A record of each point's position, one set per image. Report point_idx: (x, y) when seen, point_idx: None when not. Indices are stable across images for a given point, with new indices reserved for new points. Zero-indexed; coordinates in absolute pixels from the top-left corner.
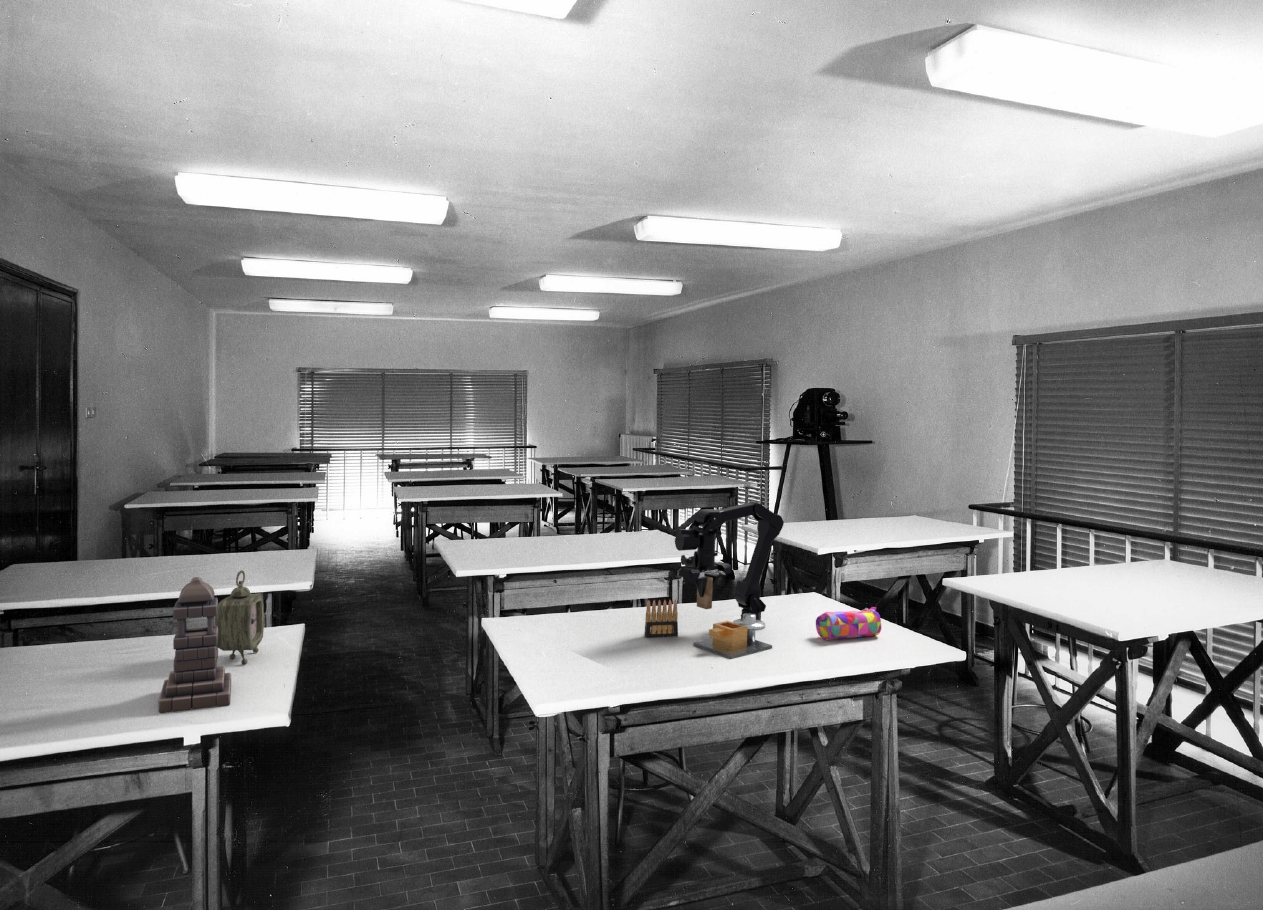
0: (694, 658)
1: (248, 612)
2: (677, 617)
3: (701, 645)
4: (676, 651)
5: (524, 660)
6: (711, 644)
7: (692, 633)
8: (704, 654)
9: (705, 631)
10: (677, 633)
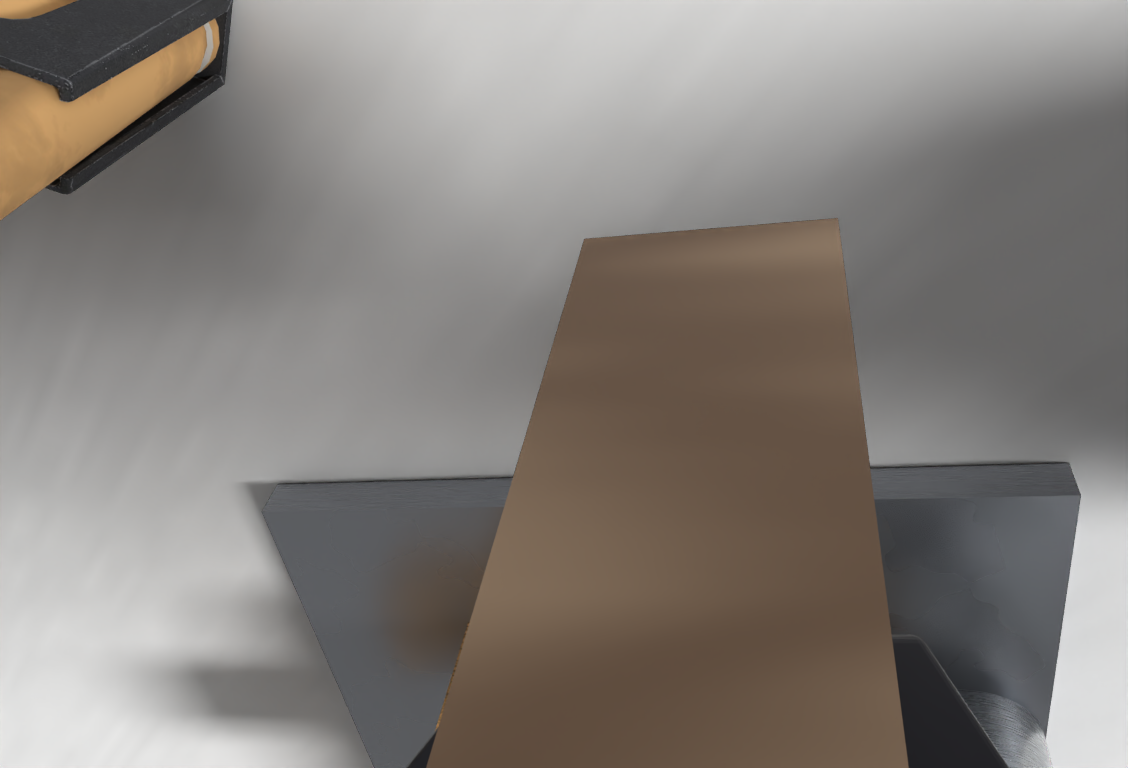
0: (127, 718)
1: None
2: (29, 196)
3: (308, 607)
4: (14, 531)
5: None
6: (426, 648)
7: (556, 36)
8: (263, 699)
9: (864, 40)
10: (190, 101)
